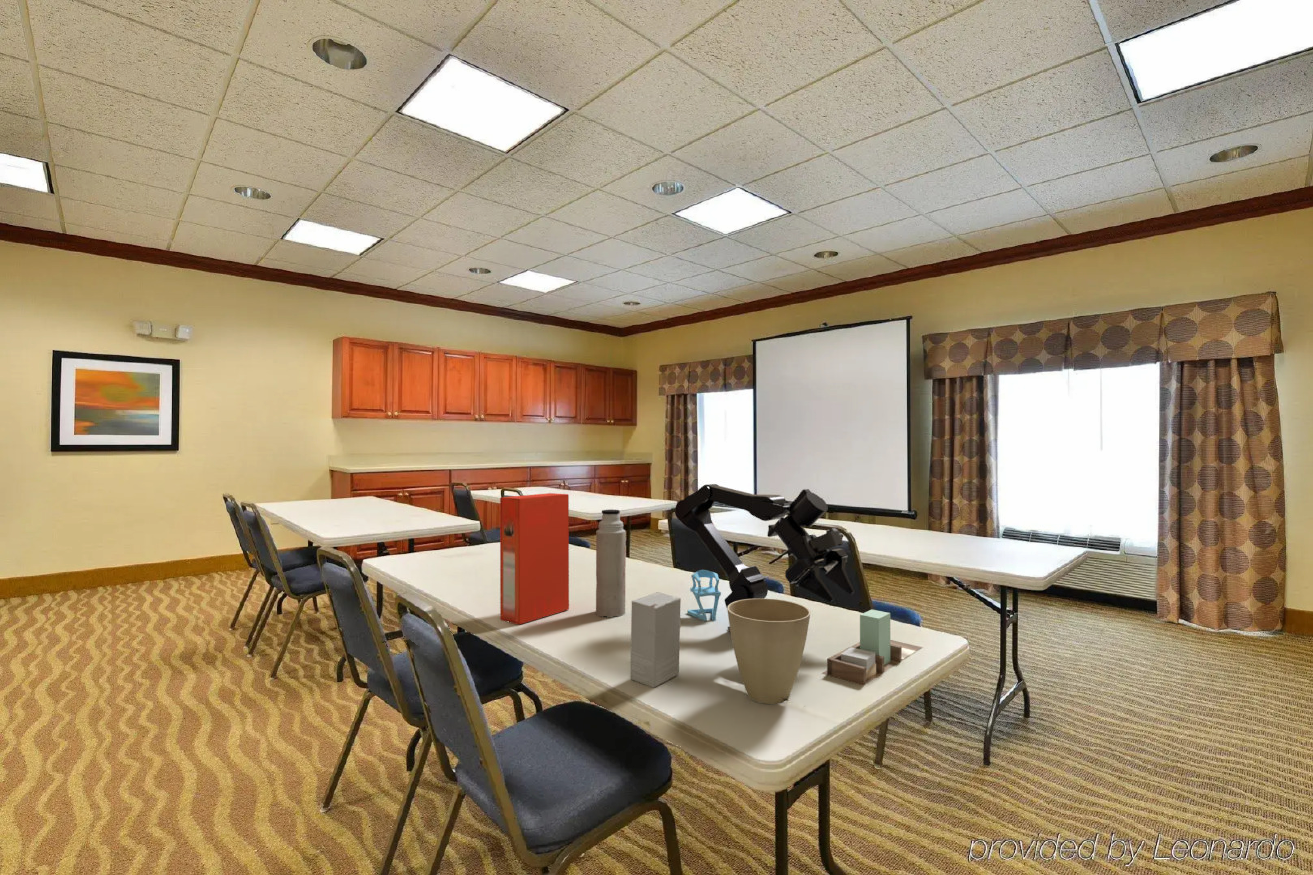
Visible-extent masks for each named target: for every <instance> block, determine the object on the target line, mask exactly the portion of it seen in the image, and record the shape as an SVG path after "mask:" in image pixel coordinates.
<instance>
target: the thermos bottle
mask: <svg viewBox="0 0 1313 875" xmlns="http://www.w3.org/2000/svg"><path fill="white" fill-rule="evenodd" d="M620 512H621V510H619V509H602V510H601V514H602V516H601V521H599V522H598V527H597V528H598V529H597V530H596V531H595V534H596V536H595V538H596V539H595V540H596V541H595V544H596V546H595V548H596V549H595V552H596V554H595V557H596V558H595V560H596V561H595V566H596V567H595V578H596V588H595V589H596V590H595V614H596V615H597V616H599V617H603V616H607V617H606V618H614V617H613V616H617V617H621V616H624V615H625V614H626V566H627V565H626V551H627V550H626V545H627V543H626V537H627V536H626V534H627V533H626V530H625V529H624V522H623V521H622V520H621V515H620Z"/></svg>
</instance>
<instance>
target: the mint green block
mask: <svg viewBox="0 0 1313 875" xmlns="http://www.w3.org/2000/svg"><path fill="white" fill-rule="evenodd" d="M890 640H891V613H890V612H886V611H882V610H876V609H870V610H868V611H865V612H863V613H861V614H859V642H860V649H861V650H866V651H870V652H875V654H876V655H880V656H883V657H884V665H886V664H887V663H889V662H890Z"/></svg>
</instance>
